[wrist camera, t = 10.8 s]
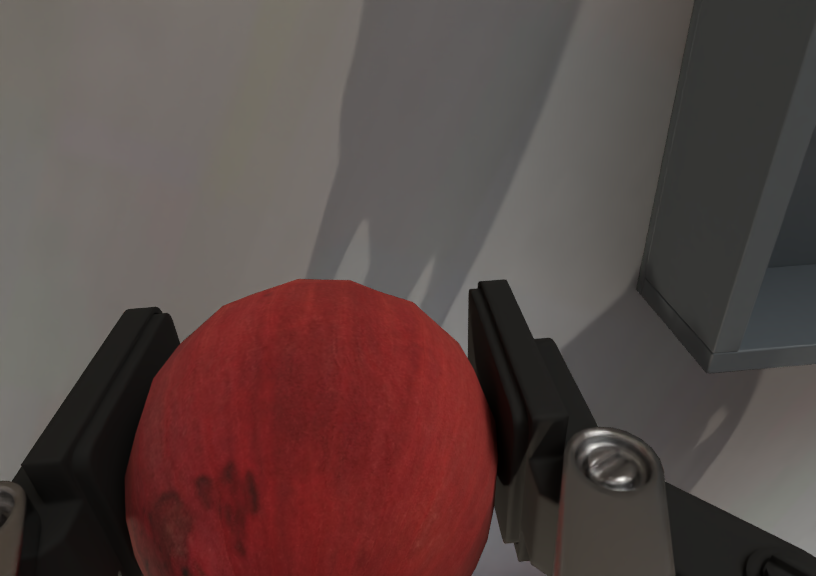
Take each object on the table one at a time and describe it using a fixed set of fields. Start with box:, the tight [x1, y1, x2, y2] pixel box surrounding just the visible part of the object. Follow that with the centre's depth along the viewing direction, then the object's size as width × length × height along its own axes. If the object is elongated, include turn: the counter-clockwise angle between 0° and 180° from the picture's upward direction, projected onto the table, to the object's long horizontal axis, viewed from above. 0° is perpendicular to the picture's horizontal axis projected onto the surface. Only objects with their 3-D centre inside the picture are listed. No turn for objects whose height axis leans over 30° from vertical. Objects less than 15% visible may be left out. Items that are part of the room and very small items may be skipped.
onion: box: [125, 279, 498, 576], centre depth 9 cm, size 6×6×8 cm
